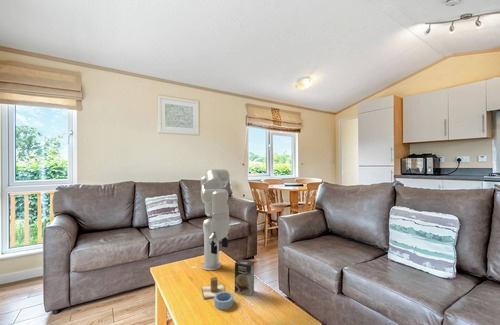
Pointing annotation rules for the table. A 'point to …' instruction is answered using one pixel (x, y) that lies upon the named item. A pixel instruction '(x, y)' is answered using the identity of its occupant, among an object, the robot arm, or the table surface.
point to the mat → (209, 298)
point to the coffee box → (244, 277)
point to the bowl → (223, 300)
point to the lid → (212, 288)
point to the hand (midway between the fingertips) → (219, 250)
